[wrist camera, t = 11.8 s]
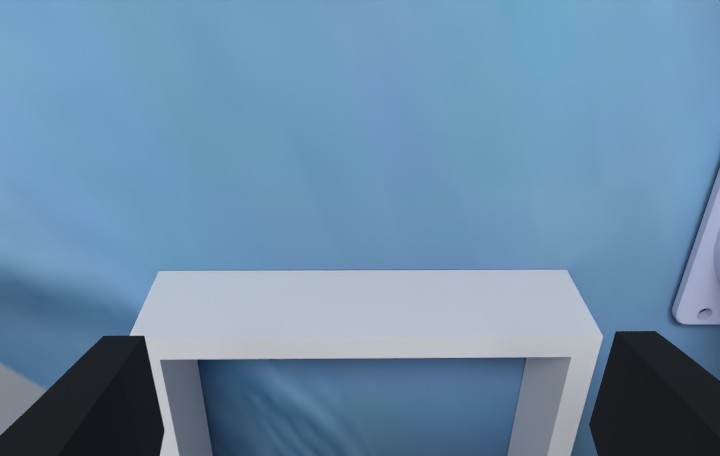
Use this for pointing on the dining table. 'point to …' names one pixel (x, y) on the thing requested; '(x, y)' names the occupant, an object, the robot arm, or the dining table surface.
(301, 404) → the dining table surface
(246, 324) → the white square frame
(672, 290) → the dining table surface
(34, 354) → the dining table surface
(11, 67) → the dining table surface
